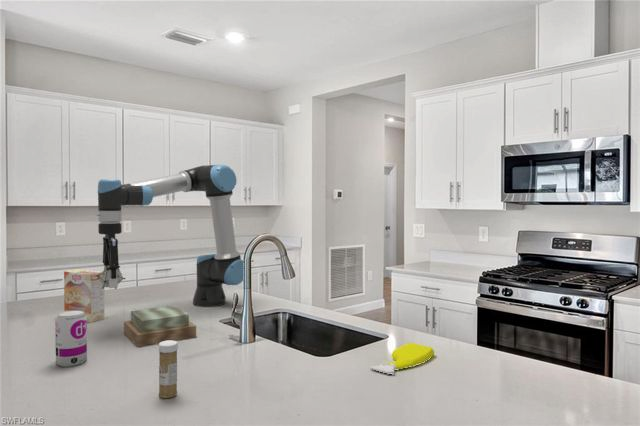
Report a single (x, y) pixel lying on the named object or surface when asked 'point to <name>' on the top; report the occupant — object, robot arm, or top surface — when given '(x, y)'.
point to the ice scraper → (406, 357)
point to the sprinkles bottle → (168, 369)
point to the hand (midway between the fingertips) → (110, 285)
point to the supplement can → (71, 338)
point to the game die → (105, 277)
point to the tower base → (158, 334)
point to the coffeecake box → (84, 293)
